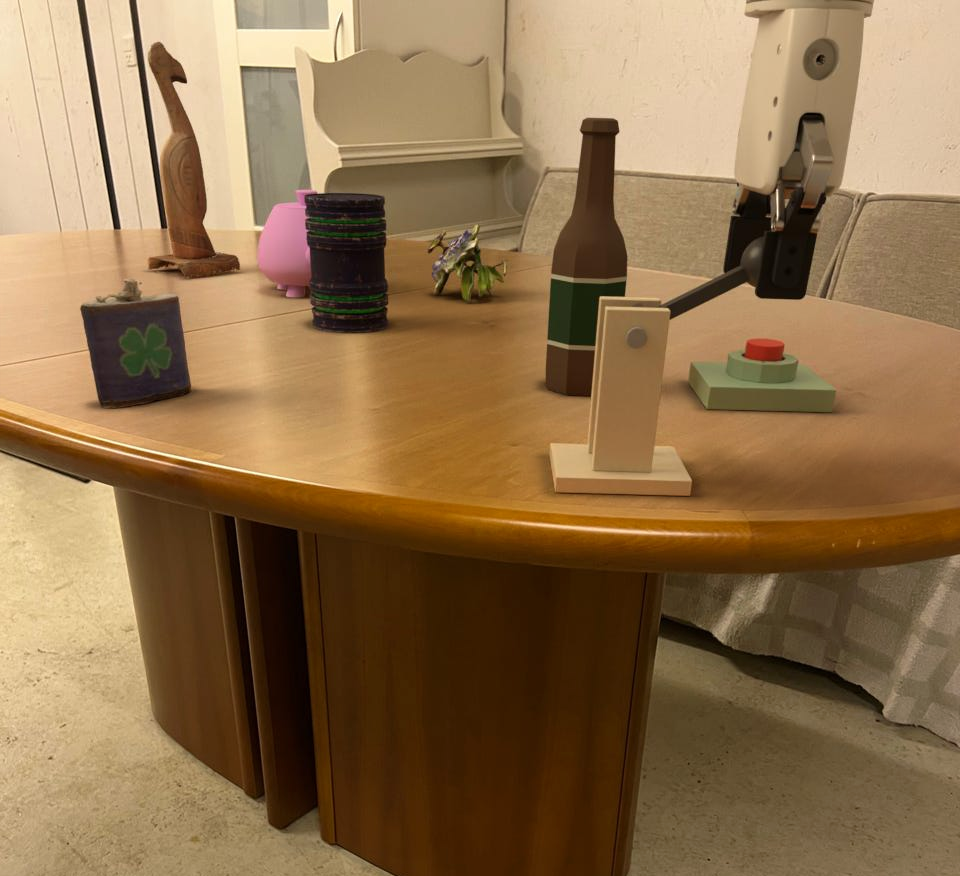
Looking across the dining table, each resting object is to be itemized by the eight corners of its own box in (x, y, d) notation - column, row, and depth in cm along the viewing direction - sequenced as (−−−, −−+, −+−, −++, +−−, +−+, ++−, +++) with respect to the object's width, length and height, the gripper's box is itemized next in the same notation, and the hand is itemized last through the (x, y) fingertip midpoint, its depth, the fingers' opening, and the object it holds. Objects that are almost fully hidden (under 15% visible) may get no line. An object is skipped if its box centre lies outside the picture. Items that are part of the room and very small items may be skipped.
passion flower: (440, 332, 142) (419, 258, 142) (507, 316, 143) (487, 243, 143) (444, 299, 131) (422, 219, 131) (518, 283, 132) (495, 204, 132)
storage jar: (381, 316, 124) (377, 193, 117) (396, 331, 116) (393, 199, 109) (306, 318, 122) (297, 192, 114) (317, 334, 113) (308, 199, 106)
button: (776, 356, 93) (779, 338, 92) (785, 365, 89) (789, 346, 89) (740, 355, 93) (743, 337, 92) (748, 364, 89) (751, 345, 89)
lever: (790, 270, 66) (775, 224, 64) (804, 278, 63) (789, 229, 61) (619, 354, 69) (601, 311, 67) (625, 365, 66) (606, 321, 64)
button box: (801, 385, 97) (809, 346, 95) (831, 412, 88) (840, 370, 86) (687, 382, 97) (692, 343, 95) (706, 409, 88) (712, 367, 86)
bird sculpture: (244, 271, 154) (222, 43, 138) (186, 279, 146) (155, 38, 130) (202, 264, 160) (177, 45, 144) (144, 271, 152) (109, 39, 136)
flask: (183, 386, 91) (167, 271, 86) (199, 393, 89) (183, 275, 84) (93, 404, 85) (70, 281, 80) (108, 411, 84) (86, 286, 78)
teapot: (384, 302, 133) (381, 196, 126) (276, 307, 128) (267, 197, 121) (346, 278, 150) (342, 184, 143) (249, 282, 145) (240, 185, 138)
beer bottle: (530, 379, 97) (544, 116, 85) (598, 375, 99) (620, 118, 87) (559, 399, 90) (577, 117, 78) (630, 394, 92) (659, 119, 81)
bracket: (672, 460, 75) (694, 295, 69) (690, 496, 68) (716, 315, 62) (549, 457, 75) (559, 291, 69) (555, 492, 68) (567, 312, 62)
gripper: (931, -29, 49) (856, 311, 57) (828, 3, 64) (780, 269, 72) (789, -34, 49) (735, 307, 57) (719, 0, 64) (685, 266, 72)
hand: (760, 285), depth 65 cm, fingers open, 9 cm apart
